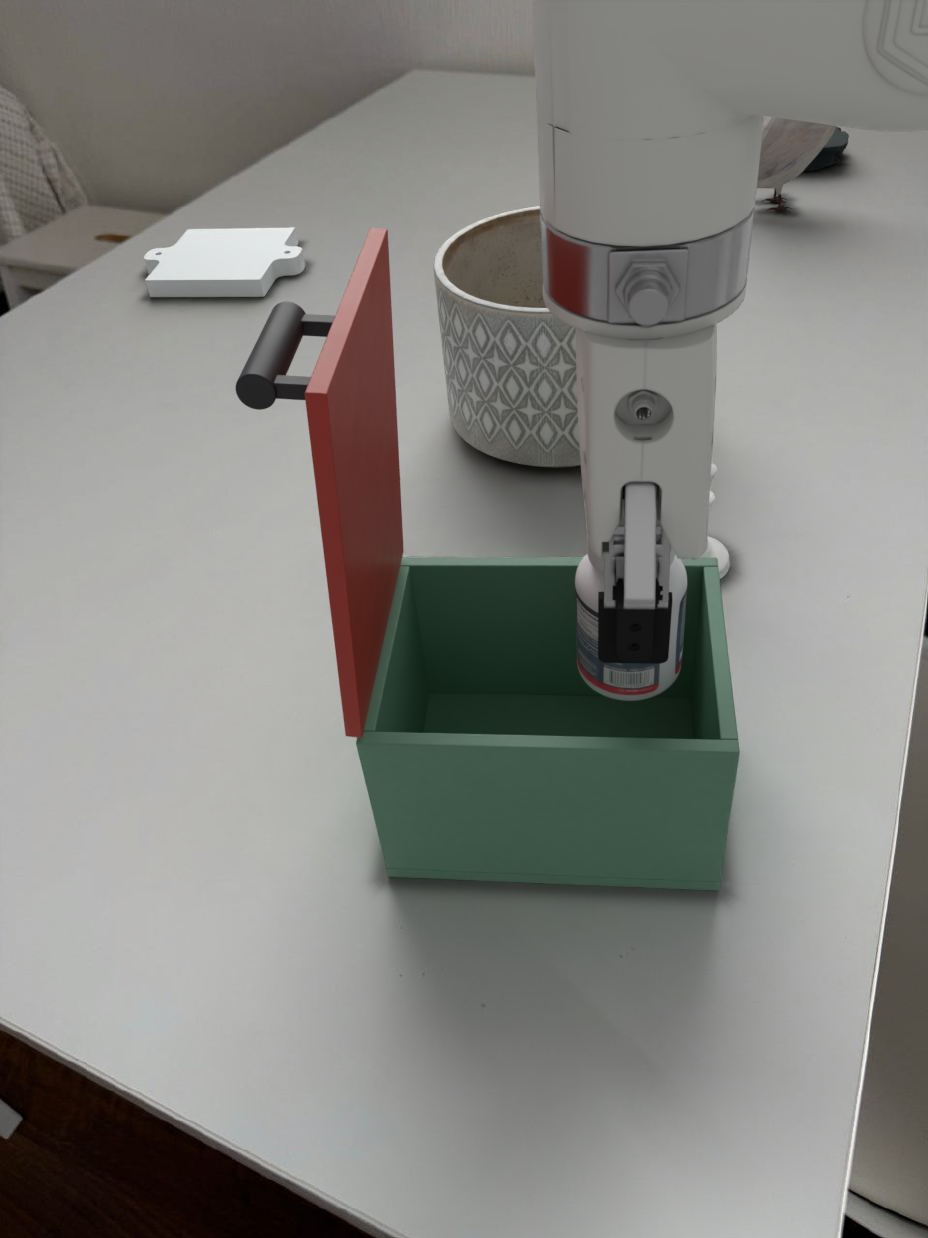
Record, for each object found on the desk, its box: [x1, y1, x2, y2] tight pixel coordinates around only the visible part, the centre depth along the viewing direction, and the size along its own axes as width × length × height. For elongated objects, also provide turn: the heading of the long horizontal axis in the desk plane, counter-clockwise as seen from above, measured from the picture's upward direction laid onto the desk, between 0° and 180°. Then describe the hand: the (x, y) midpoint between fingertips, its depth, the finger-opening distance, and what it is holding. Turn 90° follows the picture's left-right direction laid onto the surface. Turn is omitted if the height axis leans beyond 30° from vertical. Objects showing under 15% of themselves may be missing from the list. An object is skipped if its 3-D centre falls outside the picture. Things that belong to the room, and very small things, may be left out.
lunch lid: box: [235, 227, 405, 738], centre depth 47 cm, size 18×14×5 cm
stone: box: [803, 126, 850, 172], centre depth 123 cm, size 8×12×3 cm
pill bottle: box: [575, 527, 687, 701], centre depth 50 cm, size 5×5×9 cm
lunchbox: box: [355, 556, 741, 891], centre depth 56 cm, size 18×14×11 cm
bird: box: [757, 116, 837, 214], centre depth 110 cm, size 5×14×15 cm, turn 89°
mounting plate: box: [143, 226, 306, 298], centre depth 114 cm, size 18×13×2 cm
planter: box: [433, 205, 581, 469], centre depth 83 cm, size 19×19×14 cm
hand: (631, 611), depth 50 cm, fingers closed on pill bottle, 5 cm apart
